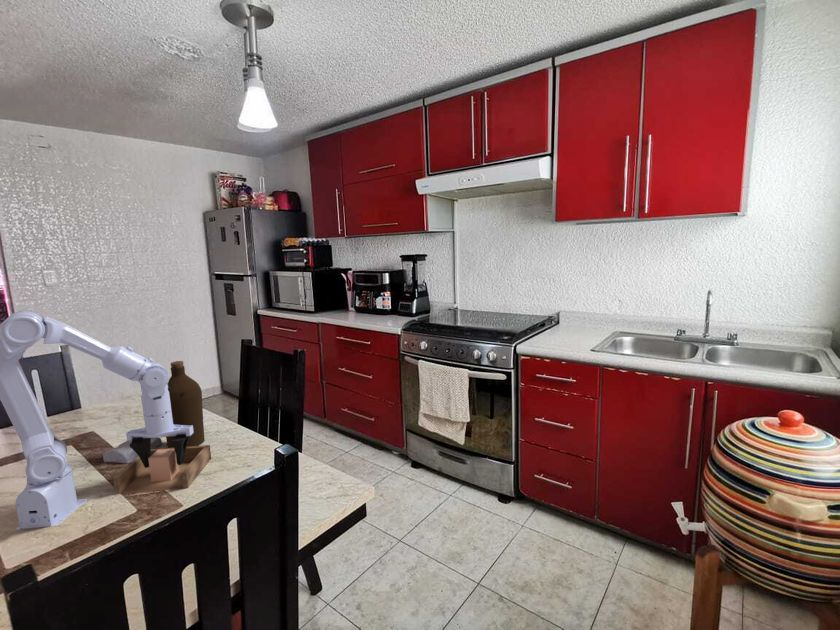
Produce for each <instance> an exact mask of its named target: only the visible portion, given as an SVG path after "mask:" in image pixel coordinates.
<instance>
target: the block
mask: <svg viewBox="0 0 840 630" xmlns="http://www.w3.org/2000/svg"><path fill="white" fill-rule="evenodd" d="M161 449H162V448H161ZM148 460H149V468H150V475H151V482H154V481H166V480H172V478H173V477H174V476H175V475H176V474H177V473H178V472H179V471H180V470H179V465H178V464H177V460H176V453H175V449H162V450H157V451H156V452H155V453H154V454H153V455H152V456H151V457H149V458H148Z"/></svg>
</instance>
